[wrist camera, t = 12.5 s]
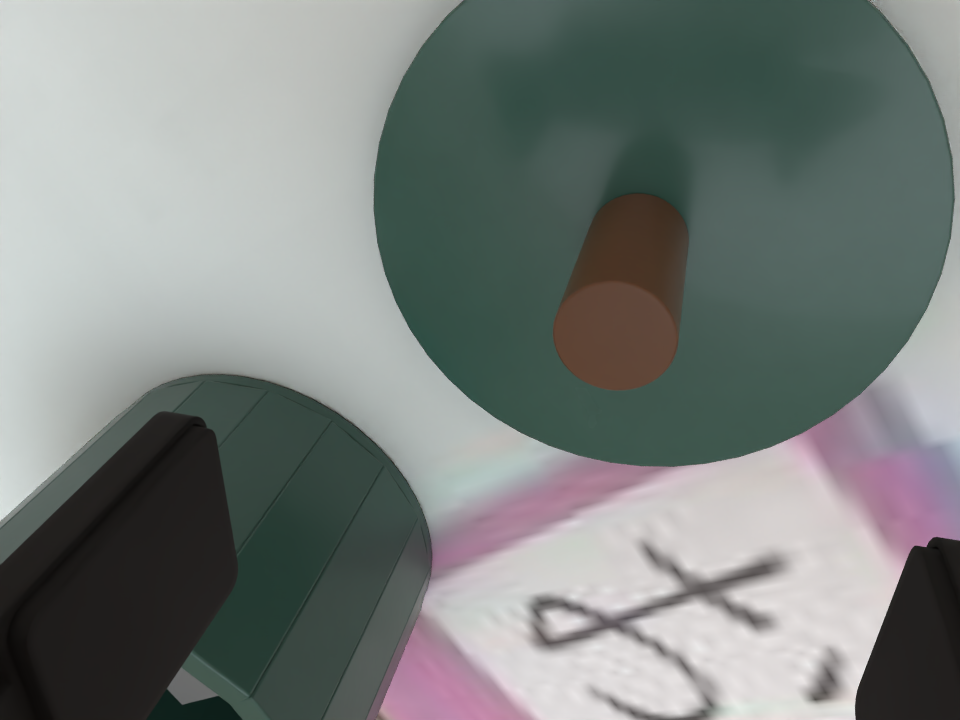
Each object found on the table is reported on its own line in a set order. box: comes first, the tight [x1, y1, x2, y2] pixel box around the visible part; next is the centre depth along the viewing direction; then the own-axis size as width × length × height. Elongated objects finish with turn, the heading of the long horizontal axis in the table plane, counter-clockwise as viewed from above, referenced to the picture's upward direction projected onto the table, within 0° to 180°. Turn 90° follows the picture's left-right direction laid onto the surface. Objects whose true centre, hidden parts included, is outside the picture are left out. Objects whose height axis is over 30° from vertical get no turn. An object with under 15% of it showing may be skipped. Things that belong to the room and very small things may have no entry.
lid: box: [374, 0, 955, 467], centre depth 18 cm, size 14×14×6 cm
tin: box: [0, 375, 432, 720], centre depth 26 cm, size 13×13×10 cm
